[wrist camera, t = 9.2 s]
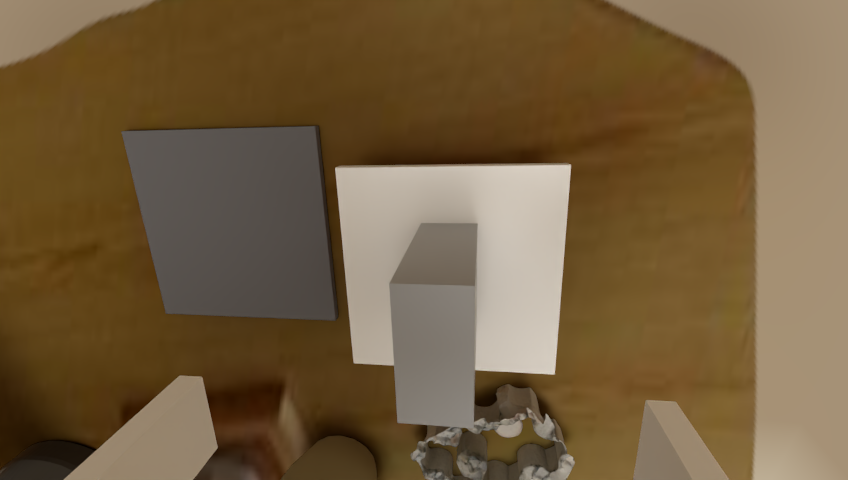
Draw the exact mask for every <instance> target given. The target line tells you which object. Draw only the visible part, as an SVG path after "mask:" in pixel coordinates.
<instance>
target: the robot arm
mask: <svg viewBox="0 0 848 480" xmlns="http://www.w3.org/2000/svg"><path fill="white" fill-rule="evenodd" d="M217 448H218V446H217V442H216V437H215V433H214V428H213V424H212V419H211V415H210V410H209V406H208V401H207V397H206V392H205V388H204V383H203V379H202V377H198V376H179V377H177V378H176V379H175V380H174V381H173V382H172V383H171V384H170V385H169V386H167V387H166V388H165V389H164V390H163V391H162V392H161V393H160V394H158V395H157V396H156V397H155V398H154V399H153V400H152V401H151V402H150V403H148V404H147V405H146V406H145V407H144V408H143V409H142V410H141V411H140V412H138V413H137V414H136V415H135V416H134V417H133V418H132V419H131V420H129V421H128V422H127V423H126V424H125V425H124V426H123V427H122V428H121V429H119V430H118V431H117V432H116V433H115V434H114V435H113V436H112V437H111V438H109V439H108V440H107V441H106V442H105V443H104V444H103V445H102V446H100V447H99V448H98V449H97V450H96V451H94V450H92V449H89V448H87V447H84V446H81V445H78V444H75V443H70V442H65V441H44V442H40V443H37V444H34V445H32V446H30V447H28V448H27V449H26V450H24V451H23V452H22V453H20V454H19V455H18V456H16V457H15V458H14V459H12V460H11V461H10V462H8V463H7V464H6V465H5V466H3V467H2V468H1V469H0V480H193V479H194V478H195V477H196V475H197V474H198V473H199V471H200V470H201V469H202V468H203V466H204V465H205V464H206V462H207V461H208V460H209V458H210V457H211V456H212V454H213V453H214V452H215V451H216V449H217ZM633 479H634V480H729V479H728V477H727V476H726V474H725V473H724V471H723V470H722V469H721V467H720V466H719V464H718V463H717V461H716V460H715V458H714V457H713V455H712V454H711V453H710V451H709V450H708V448H707V447H706V445H705V444H704V442H703V441H702V439H701V438H700V436H699V435H698V434H697V432H696V431H695V429H694V428H693V426H692V425H691V423H690V422H689V420H688V419H687V418H686V416H685V415H684V413H683V412H682V410H681V409H680V407H679V406H678V404H677V403H676V402H672V401H653V400H646V402H645V408H644V415H643V421H642V427H641V434H640V440H639V446H638V453H637V459H636V465H635V472H634V478H633Z"/></svg>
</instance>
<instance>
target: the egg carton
mask: <svg viewBox="0 0 848 480" xmlns="http://www.w3.org/2000/svg"><path fill="white" fill-rule="evenodd" d="M496 395H497V401H496V402H495V403H494V404H493V405H491V406H489V407H480V406H477V405H475V404H474V428H467V429H468V430H469V431H468V432H465V433H463V434H462V428H460V427H447V426H434V425H427V436H426V438H425V440H424V442H423V441H419V442H418V445H417V449H416V450H415V451H414V452H413V453H411V458H412V460H413V461H415V460H416V461H417V462H418V463H419V465H420V466H421V468H422V472H423V475H424V477H425V479H428V480H472V479H473V480H566V479H567V477H568V475H569V473H570V472H571V470H572V468H573V466H574V463H575V462H574V459H573V457H572V456H570V455H568V454H567V449H566V447H565V444H564V439H563V436H562V432H561V428H560V427H559V425H558V424H557V422H556V420H555V419H550V418H549V416H548V415H547V414H545V416H544V417H543V418H542V416H541V415H540V411H539V407H538V401H537V396H536V395H535V393H534V392H533V390H532V389H531V388H530V387H528V388H515V387H513V386H511V385H510V384H506V385H503V386H501V387H500V388H498V389H497V393H496ZM527 417H530V418H532V423H533V427H534V431H535V432H536V433H537V434H538V435H539V436H541V437H542V438H544V439H549V440H551V441H554V443H555V445H554V446H552V447H550V448H548V449H544V448H542V447H541V446H539V445H536V444H526V445H523V446H522V447H521V448H520V449H519V450H518V452H517V460H518V462H517V463H514V464H512V465H510V466H508V465H506V464H505V463H503V462H501V461H497V460H492V461H489V462H487V441H486V439H485V437H484V436H483V435H482V434H480V432H481V431H482V430H487V431H489V430H492V429H494V430H495V431H496V432H497V433H498V434H499V435H501V436H503V437H507V438H509V437H515V436H517V435H519V434H520V432H521V431H522V427H523V424H522V421H521V420H524V419H525V418H527ZM461 434H462V435H461ZM432 440H433V442H434V444H435V443H440V444H441V445H443V446H445V445H451V446H453V447H456V446H458V449H457V465H458V467H459V469H460V471H461V473H462V475H463V476H454V475H453V474H452V468H453V458H452V455H451V453H450V452H449V451H447V450H445V449H443V448H432V449H431V448H429V447H428V445H427V443H428V441H432ZM470 478H471V479H470Z"/></svg>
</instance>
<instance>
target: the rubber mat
mask: <svg viewBox="0 0 848 480" xmlns="http://www.w3.org/2000/svg"><path fill="white" fill-rule="evenodd" d="M121 132H122V136H123V140H124V144H125V148H126V152H127V156H128V160H129V164H130V168H131V173H132V177H133V181H134V185H135V189H136V193H137V197H138V201H139V205H140V209H141V213H142V217H143V222H144V226H145V230H146V234H147V238H148V242H149V246H150V250H151V254H152V258H153V262H154V266H155V271H156V275H157V279H158V283H159V287H160V291H161V295H162V299H163V303H164V307H165V311H166V314H189V315H213V316H237V317H261V318H285V319H310V320H334V321H336V319H337V318H338V309H337V299H336V290H335V280H334V271H333V261H332V251H331V242H330V232H329V222H328V213H327V203H326V193H325V184H324V174H323V164H322V155H321V145H320V135H319V126H294V127H256V128H218V129H180V130H142V131H121Z"/></svg>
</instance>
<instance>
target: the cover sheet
mask: <svg viewBox="0 0 848 480" xmlns="http://www.w3.org/2000/svg"><path fill="white" fill-rule="evenodd" d="M335 172H336V182H337V193H338V203H339V214H340V224H341V235H342V246H343V256H344V267H345V277H346V288H347V298H348V309H349V319H350V330H351V341H352V351H353V362H354V363H358V364H375V365H393V366H394V372H395V389H396V406H397V422H398V423H407V424H420V425H434V426H447V427H460V428H474V401H475V370H483V371H501V372H519V373H536V374H554V375H555V364H556V352H557V339H558V326H559V313H560V301H561V288H562V275H563V262H564V250H565V237H566V224H567V211H568V199H569V186H570V173H571V165H570V164H569V163H519V164H438V165H357V166H338V167H336V168H335Z"/></svg>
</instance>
